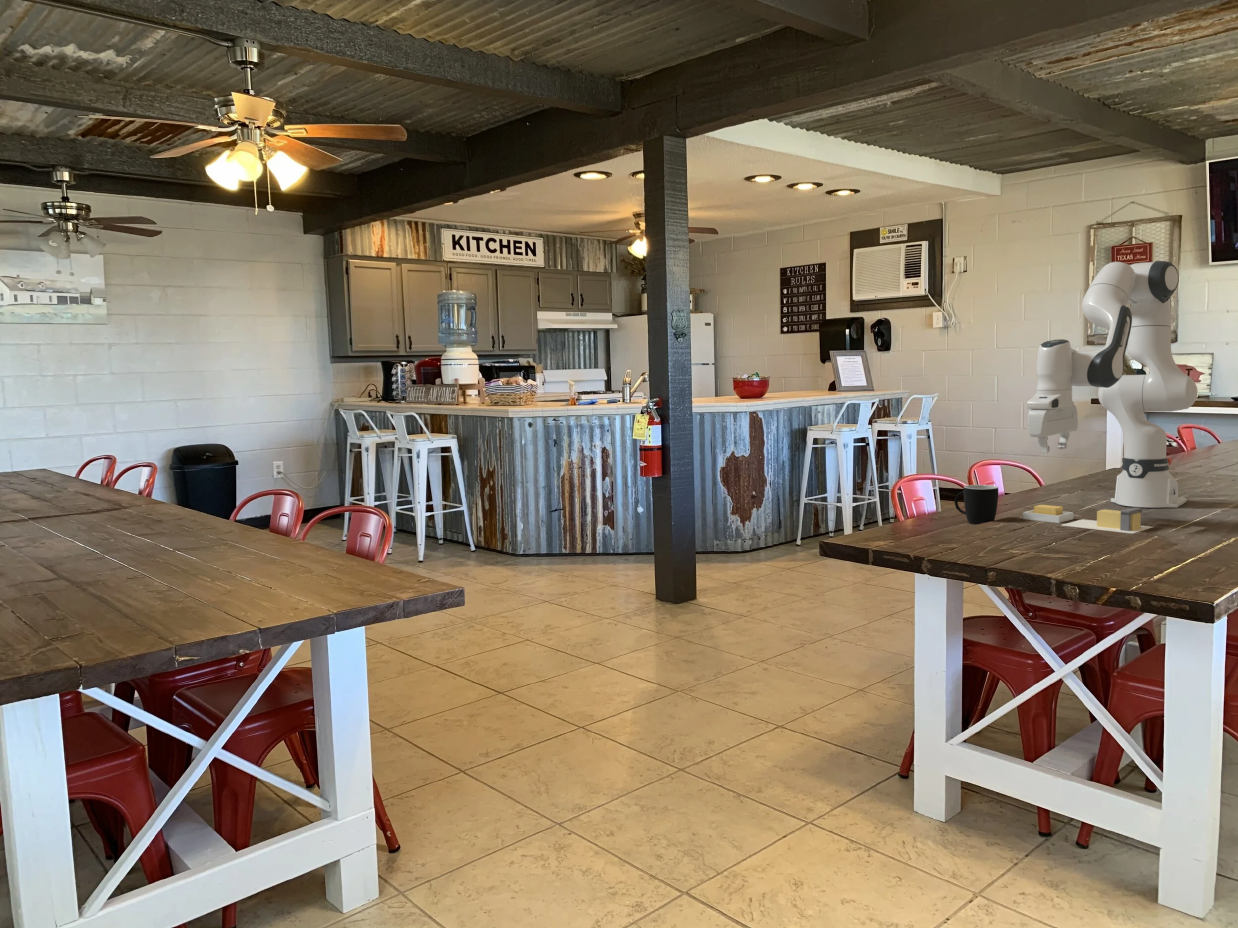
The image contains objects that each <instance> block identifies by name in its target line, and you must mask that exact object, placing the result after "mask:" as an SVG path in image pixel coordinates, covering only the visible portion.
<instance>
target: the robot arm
mask: <svg viewBox="0 0 1238 928" xmlns="http://www.w3.org/2000/svg"><path fill="white" fill-rule="evenodd" d="M1179 279H1180V275H1179V271H1178V269H1177V267H1176V265H1174V264H1173V263H1172V262H1171V261H1166V260H1156V261H1149V262H1146V261H1145V262H1138V263H1132V264H1128V263H1126V262H1121V261H1112V262H1108V263H1107V264H1105V265H1104V266H1103V267H1101V269H1100V270H1099V272H1098V273H1097V274H1096V276H1095V277H1094V278H1093V279H1092V281H1091V283H1090V285H1089V287H1088V289H1087V290H1086V293H1085V294H1084V296H1083V299H1082V303H1081V310H1082V314H1083V315H1084V317H1085V318H1086V319H1087V321H1088V322H1090V323H1092V324H1093V325H1095V326H1097V327H1100V328H1103V329H1106V330H1109V331H1108V334H1107V339H1106V342H1105V345H1104V347H1101V348H1099V349H1096V350H1076V349H1074V348H1072V345H1071V342H1070V341H1069V339H1068V340H1067V339H1063V338H1061V339H1059V338H1058V339H1053V340H1051V339H1050V340H1046V341H1044V342H1043V343H1041V344H1040V345H1039V347H1038V349H1037V356H1036V373H1035V374H1036V377H1037V385H1036V387H1035V388H1036V391H1035V392H1036V393H1035V394H1034V395H1033V396H1032V397H1031V398H1030V399H1029V400H1027V402H1026V408H1027V409H1028V410H1029V411H1028V414H1027V425H1028V426H1027V428H1028V433H1029V436H1030V437H1031V438H1037V442H1038V444H1039V449H1040V453H1043V454H1047V453H1050V448H1051V447H1050V445H1048V440H1049V437H1050V436H1056V435H1059V436H1060V437H1059V442H1057V448H1058V450H1065V449H1067V448H1068V441H1069V438H1070V432H1076V431H1077V430H1078V426H1079V420H1078V409H1077V406H1076V405H1075V402H1074V401H1073V387H1074V386H1075V387H1094V388H1098V389H1097V397H1098V401H1099V403H1100V405H1101V406H1102V407H1103V408H1104V409H1105V410H1106V411H1109V412H1110V413H1111V415H1113V417H1114V418H1115V419H1116V420H1117V421H1118V424H1119V425H1120V429H1121V431H1122V437H1123V438H1122V439H1123V457H1122V458H1121V470H1122V471H1121V472H1120V473H1119V474H1118V475H1117V476H1116V485H1115V493H1114V497H1111V498H1110V502H1111V503H1114V504H1117V505H1119V506H1126V507H1131V508H1132V507H1135V508H1150V509H1151V508H1180V507H1181V506H1182V505H1184V504H1185V503H1186V502H1188V501H1187V500H1188V499H1187V498H1186V497H1181V496H1179V484H1178V483H1179V482H1178V481H1177V480H1176V479H1175V478H1174V477H1173V475H1172V474H1171V473H1170V471H1169V469H1170V466H1171V465H1172V462H1173V461H1172V457H1167V443H1168V442H1167V441H1168V440H1167V439H1168V438H1167V433H1166V431H1165V430H1164V429H1163V428H1162V427H1161V426H1159V425H1157V424H1155V423H1152V422H1151V421H1149V420H1148V419H1147V418H1146V417H1145V413H1146V412H1154V413H1155V412H1168V413H1169V412H1177V411H1183V410H1188V409H1190V408H1191V407H1192V406H1193V405H1194V404H1195V402H1196V400H1197V398H1198V391H1199V390H1198V386H1197V384H1196V382H1195V380H1193V378H1192V377H1190V376H1189V375H1188V374H1186V373H1185V372H1183V371H1182V370H1181V368H1180V367H1178V365H1177V364H1176V361H1175V359H1174V357H1173V354H1172V353H1173V352H1172V341H1171V340H1172V339H1171V338H1172V336H1171V335H1172V312H1171V303H1170V298H1171V296H1173V295H1174V293H1175V292H1176V290H1177V288H1178V286H1179V281H1180V280H1179ZM1128 304H1131V307H1128ZM1126 351H1127V354H1128V356H1129V357H1130V358H1131V359H1132V360H1133V361H1135V362H1138V363H1140V364H1143V365H1145V366H1147V368H1148V370H1149V371H1148V372H1149V373H1148V374H1123V373H1124V367H1125V366H1124V364H1125V355H1126Z"/></svg>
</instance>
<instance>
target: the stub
mask: <svg viewBox="0 0 1238 928" xmlns="http://www.w3.org/2000/svg"><path fill="white" fill-rule="evenodd" d="M1033 510H1034V513H1038V514H1047V515H1057V516H1058V515H1062V514H1063V511H1064V506H1060V505H1059V506H1058V505H1048V504H1038V505H1034V506H1033Z"/></svg>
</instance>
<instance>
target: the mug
mask: <svg viewBox="0 0 1238 928" xmlns="http://www.w3.org/2000/svg"><path fill="white" fill-rule="evenodd" d="M961 495H963V502H964V503H963V504H964V510H963V509H961V508H960V506H959V502H958V501H959V497H960V496H961ZM998 503H999V486H997V485H989V484H970V485H969V484H968V485H964V486H963V490H962V491H960V492H959V493H957V495H956V496H955V497H954V506H955V508H956V510H957V511H958V512H959V513H961V514H963V515H965V517H966V520H967V522H968V524H972V525H982V524H986V523H990V522H995V519H996V515H997V510H998Z"/></svg>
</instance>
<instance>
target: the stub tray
mask: <svg viewBox="0 0 1238 928" xmlns="http://www.w3.org/2000/svg"><path fill="white" fill-rule="evenodd" d="M1022 520H1028V521H1029V520H1031V521H1039V522H1048V523H1057V524H1059V523H1064V522H1067V521H1071V520H1074V511H1073V512H1071V511H1064V510H1063V514H1062V515H1058V516H1057V515H1047V514H1038V513H1034V509H1032V510H1027V511H1023V512H1022Z"/></svg>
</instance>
